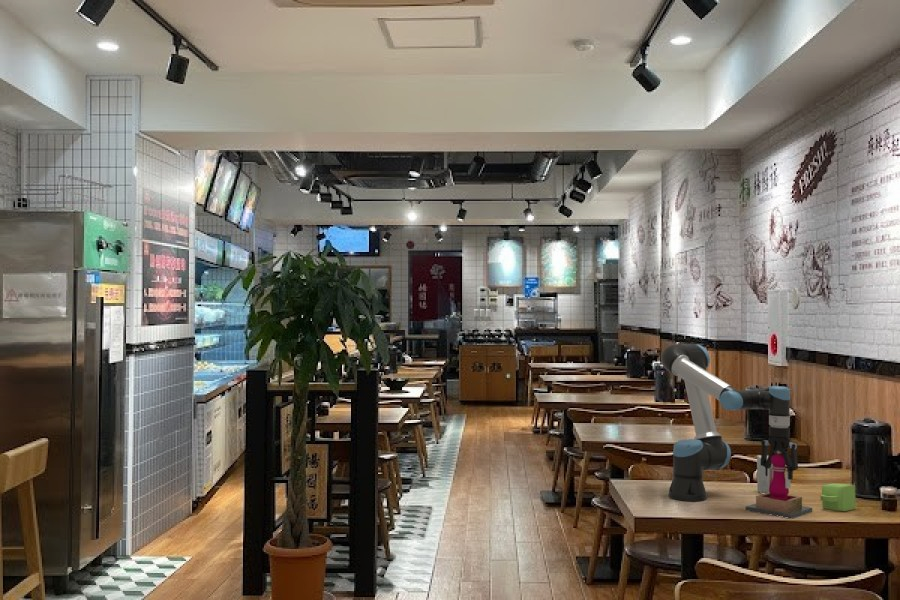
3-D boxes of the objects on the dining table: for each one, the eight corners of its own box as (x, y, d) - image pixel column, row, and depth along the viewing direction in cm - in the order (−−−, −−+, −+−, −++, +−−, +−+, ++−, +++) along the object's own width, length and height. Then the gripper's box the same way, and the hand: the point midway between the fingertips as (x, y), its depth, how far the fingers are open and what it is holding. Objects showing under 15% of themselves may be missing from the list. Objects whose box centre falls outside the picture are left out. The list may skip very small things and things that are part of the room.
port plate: (745, 510, 326) (745, 495, 326) (767, 503, 338) (767, 490, 338) (791, 518, 312) (791, 503, 313) (812, 511, 325) (812, 497, 325)
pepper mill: (782, 499, 329) (782, 448, 330) (792, 503, 322) (792, 451, 323) (765, 500, 328) (765, 448, 329) (774, 504, 321) (775, 451, 322)
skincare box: (775, 495, 356) (776, 458, 356) (759, 494, 357) (759, 457, 357) (772, 491, 364) (772, 455, 364) (756, 490, 365) (756, 454, 365)
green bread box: (835, 504, 342) (835, 480, 342) (860, 507, 334) (859, 483, 335) (814, 509, 330) (814, 484, 331) (840, 512, 323) (839, 487, 323)
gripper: (750, 424, 331) (750, 483, 330) (799, 429, 316) (799, 491, 316) (760, 423, 336) (759, 481, 335) (808, 428, 322) (808, 489, 321)
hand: (778, 486), depth 325 cm, fingers closed on pepper mill, 6 cm apart
